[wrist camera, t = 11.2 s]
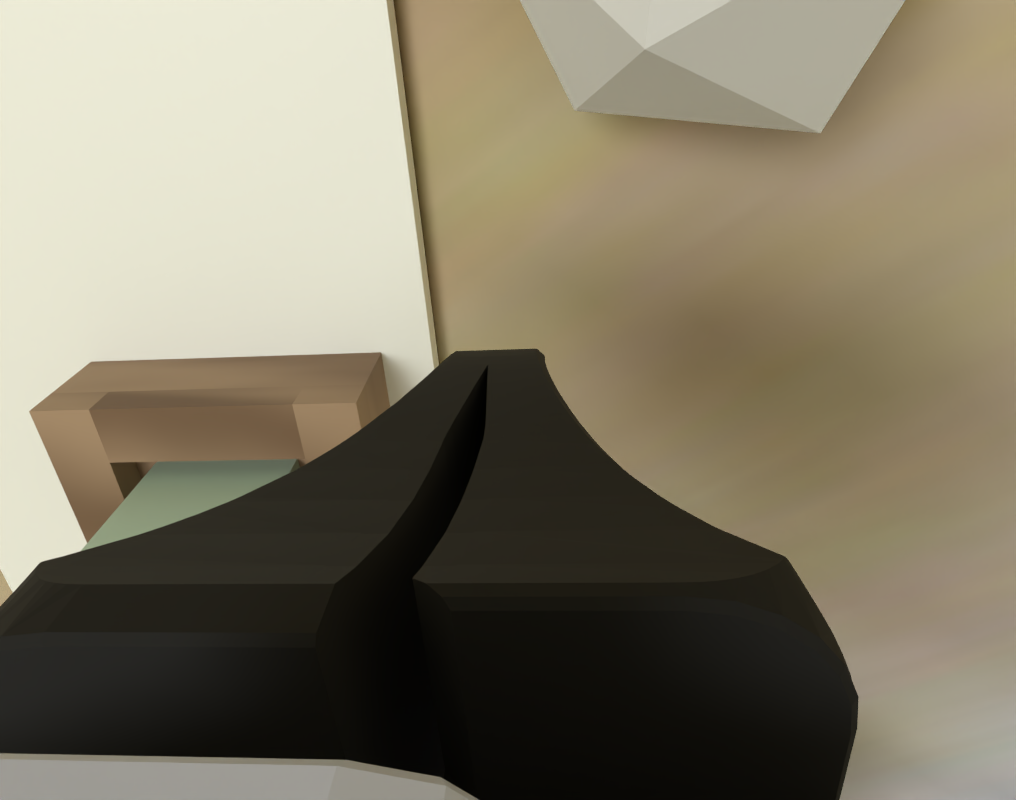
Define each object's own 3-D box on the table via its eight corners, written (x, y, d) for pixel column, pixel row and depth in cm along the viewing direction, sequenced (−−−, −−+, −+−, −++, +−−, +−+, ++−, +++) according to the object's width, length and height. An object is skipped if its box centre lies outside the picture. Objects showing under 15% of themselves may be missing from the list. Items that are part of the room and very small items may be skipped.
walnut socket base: (419, 582, 26) (403, 649, 23) (175, 583, 27) (133, 648, 24) (381, 352, 22) (356, 402, 19) (91, 361, 22) (28, 411, 20)
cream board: (467, 597, 27) (465, 613, 27) (37, 598, 29) (24, 613, 28) (377, -127, 17) (369, -132, 16) (-301, -65, 18) (-335, -67, 17)
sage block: (324, 569, 23) (275, 687, 19) (196, 569, 24) (123, 684, 20) (297, 458, 21) (237, 565, 17) (158, 460, 22) (68, 565, 18)
